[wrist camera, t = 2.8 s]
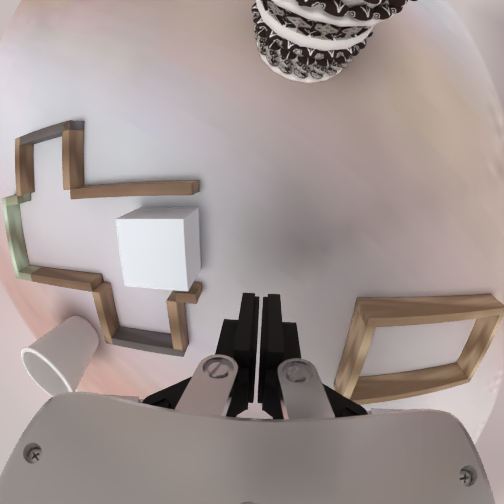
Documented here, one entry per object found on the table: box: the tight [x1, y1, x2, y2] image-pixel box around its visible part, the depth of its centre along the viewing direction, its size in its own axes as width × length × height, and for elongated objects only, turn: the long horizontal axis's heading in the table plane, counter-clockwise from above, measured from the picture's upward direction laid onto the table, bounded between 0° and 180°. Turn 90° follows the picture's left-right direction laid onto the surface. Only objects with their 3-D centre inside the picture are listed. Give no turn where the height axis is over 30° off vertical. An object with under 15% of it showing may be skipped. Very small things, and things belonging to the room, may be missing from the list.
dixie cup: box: [21, 315, 99, 397], centre depth 26 cm, size 8×8×10 cm
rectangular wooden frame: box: [334, 294, 504, 405], centre depth 26 cm, size 13×22×4 cm, turn 88°
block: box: [116, 207, 201, 291], centre depth 23 cm, size 6×6×5 cm
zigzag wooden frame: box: [2, 120, 202, 357], centre depth 25 cm, size 25×27×2 cm
